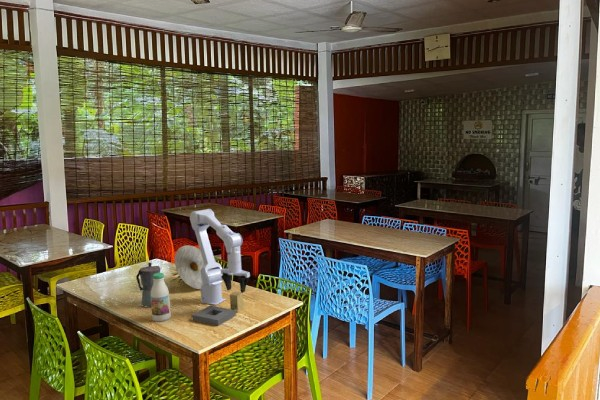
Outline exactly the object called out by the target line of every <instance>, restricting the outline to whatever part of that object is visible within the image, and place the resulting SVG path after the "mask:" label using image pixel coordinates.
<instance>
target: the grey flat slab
mask: <svg viewBox="0 0 600 400" xmlns="http://www.w3.org/2000/svg"><path fill="white" fill-rule="evenodd" d="M236 314H237V313H236V311H235V310H232V309H231V308H227V307H220V306H217V305H212V304H209V305H208V306H206V307H205V308H202V309H201V310H199V311H196V312H194V313H193V314H191V318H192V321H194V322H199V323H203V324H206V325H211V326H212V325H213V326H216V327H218V326H221V325H222V324H224V323H226V322H227V321H230V320H231V319H233V318H234V317H236V316H237V315H236Z"/></svg>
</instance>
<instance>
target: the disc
mask: <svg viewBox="0 0 600 400" xmlns="http://www.w3.org/2000/svg"><path fill="white" fill-rule="evenodd" d="M174 266H175V268H174V269H173V270H174V271H176V272H175V273H174V272H173V273H171V275H172V276H173V277H174V276H177V275H178V276H177V277H176V278H174V279H172V280H170V281H169V283H171V282H173V281H176V280H179V281H178V282H177V283H178V284H177V285H179V288H182V285H183V284H184V285H185V284H187V285H188V286H189V287H191V288H193V289H197V290H201V286H202V284H203V282H202V279H201V271H200V270H201V269H202V267H203V266H204V262H203V258H202V255H201V251H200V248H199V247H198V248H197V247H196V246H194V245H187V244H186V245H183V246H180V247H179V248H178V249H177V251H176V252H175V255H174ZM210 270H213V269H210ZM207 271H209V270H207Z"/></svg>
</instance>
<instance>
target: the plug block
mask: <svg viewBox="0 0 600 400" xmlns="http://www.w3.org/2000/svg"><path fill="white" fill-rule="evenodd" d="M243 293H244V292H243ZM243 293H241V291H234V292H231V293H230V294H229V302H230V305H229V306H230V309H232V310H235V311H236V314H239V313H240V312H242V311H244V297H243Z"/></svg>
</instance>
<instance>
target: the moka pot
mask: <svg viewBox="0 0 600 400" xmlns="http://www.w3.org/2000/svg"><path fill="white" fill-rule="evenodd" d="M152 264H153V263H152V262H148V264H147V265H148V266H143V267H141V268H140V269H139V270H138V271H137V275H136V277H135V279H136V282H137V284H138V289H139V290H140V291H142V294H141V295H142V296H141V303H140V305H141V306H142V305H143V306H142V307H144V306H147V307H146V308H151V289H152V287H153V283H154V280H153V274H155V273H161V267H160V266H159V265H153V266H152ZM139 277H140V278H139ZM140 281H141V282H140Z"/></svg>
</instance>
